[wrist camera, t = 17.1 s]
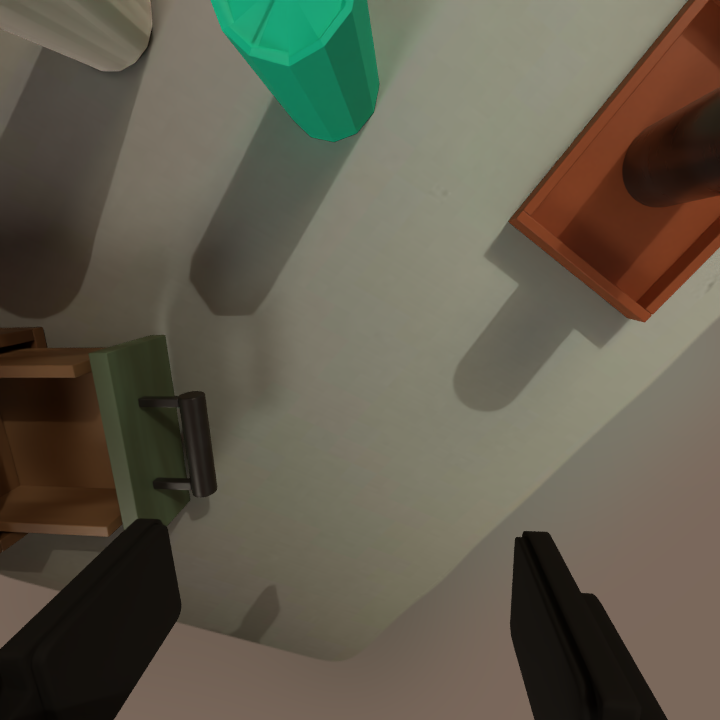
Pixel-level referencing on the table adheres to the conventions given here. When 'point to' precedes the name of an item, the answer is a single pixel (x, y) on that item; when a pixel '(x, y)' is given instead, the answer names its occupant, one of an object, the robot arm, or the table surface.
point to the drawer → (97, 439)
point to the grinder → (677, 156)
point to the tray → (606, 187)
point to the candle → (309, 58)
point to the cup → (83, 28)
